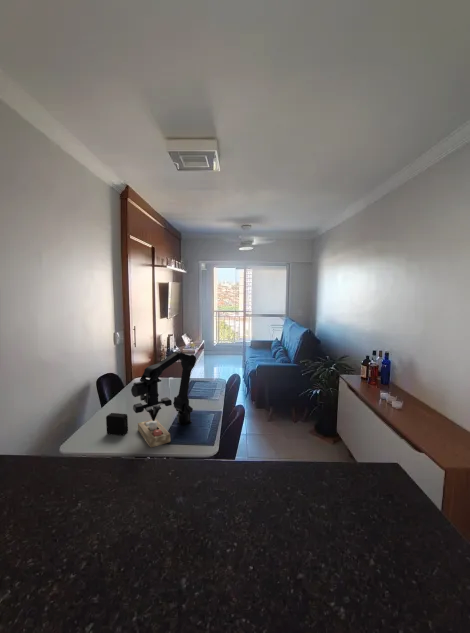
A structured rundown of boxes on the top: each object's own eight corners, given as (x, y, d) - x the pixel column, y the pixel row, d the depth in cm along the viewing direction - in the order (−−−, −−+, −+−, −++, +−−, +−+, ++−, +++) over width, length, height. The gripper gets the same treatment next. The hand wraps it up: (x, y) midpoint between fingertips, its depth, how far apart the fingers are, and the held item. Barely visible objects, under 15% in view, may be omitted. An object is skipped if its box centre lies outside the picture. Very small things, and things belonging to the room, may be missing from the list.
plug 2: (155, 427, 157) (155, 420, 157) (158, 430, 154) (158, 422, 153) (148, 429, 155) (148, 421, 155) (150, 432, 152) (150, 424, 151)
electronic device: (123, 435, 155) (123, 417, 154) (106, 434, 157) (105, 415, 156) (128, 432, 159) (127, 414, 158) (111, 430, 161) (110, 412, 160)
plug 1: (152, 427, 163) (151, 420, 162) (154, 430, 159) (154, 423, 159) (144, 429, 160) (144, 422, 160) (147, 432, 157) (146, 425, 157)
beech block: (156, 425, 166) (155, 418, 166) (170, 441, 148) (170, 434, 148) (138, 430, 161) (137, 423, 161) (150, 447, 143) (150, 439, 142)
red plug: (160, 436, 152) (159, 428, 151) (162, 439, 148) (162, 431, 148) (152, 438, 150) (152, 430, 149) (155, 441, 146) (154, 433, 146)
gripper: (164, 384, 164) (165, 411, 166) (129, 390, 154) (130, 419, 156) (171, 389, 155) (172, 418, 156) (135, 397, 145) (136, 427, 146)
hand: (153, 420), depth 154 cm, fingers closed
